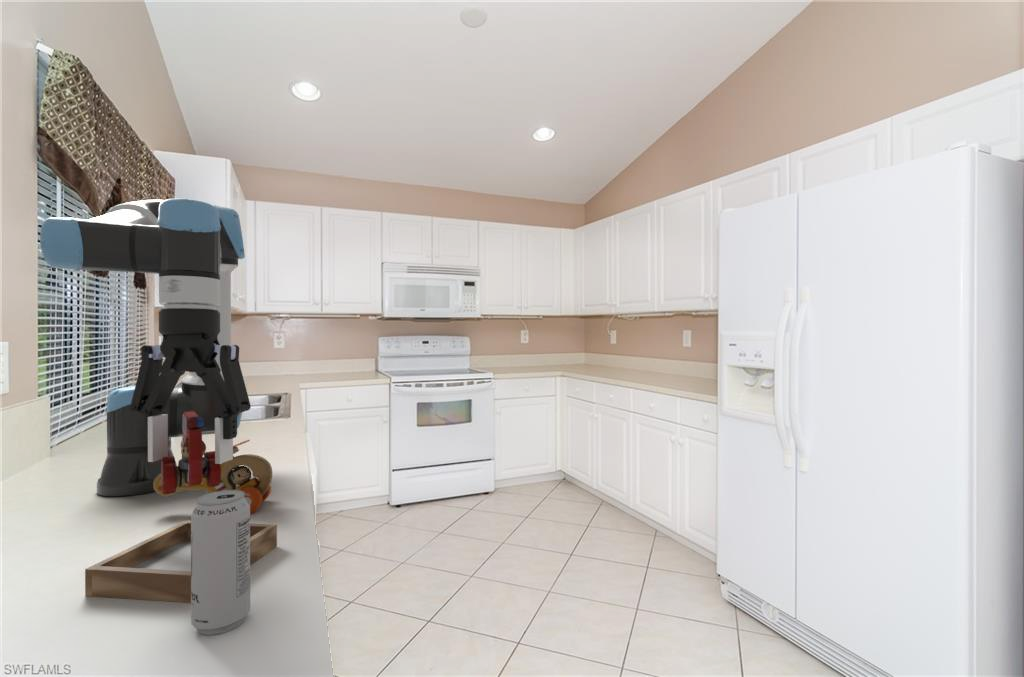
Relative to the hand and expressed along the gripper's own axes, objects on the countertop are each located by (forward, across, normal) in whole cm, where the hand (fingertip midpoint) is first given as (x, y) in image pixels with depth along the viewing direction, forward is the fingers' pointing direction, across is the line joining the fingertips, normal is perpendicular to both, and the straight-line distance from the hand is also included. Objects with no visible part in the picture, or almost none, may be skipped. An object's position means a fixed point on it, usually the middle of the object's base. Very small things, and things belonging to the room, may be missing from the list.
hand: (190, 460), depth 71 cm
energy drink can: (+16, +14, -12) cm, 24 cm away
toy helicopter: (+16, -13, +23) cm, 31 cm away
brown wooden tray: (+16, 0, 0) cm, 16 cm away
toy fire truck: (+4, 0, 0) cm, 4 cm away
